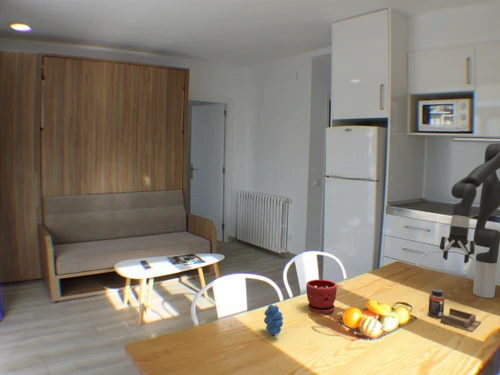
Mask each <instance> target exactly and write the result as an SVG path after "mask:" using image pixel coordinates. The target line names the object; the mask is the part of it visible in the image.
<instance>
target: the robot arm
mask: <svg viewBox="0 0 500 375" xmlns="http://www.w3.org/2000/svg"><path fill="white" fill-rule="evenodd" d="M499 169H500V143H490V144H488V145H487V146H486V148H485V152H484V163H482V164H479V165H478V166H476V167H475V168H474V169H473V170H472V171H470V172H469V174H468V175H467V176H465V177H464V178H463V177H462V179H460V180H459V181H457V182H456V183H454V184H453V186H452V187H451V192H450V193H451V195H452V197H454V198H455V199H459V200H460V199H461V201H460V202H456V203H455V204H453V208H452V216H451V219H450V227H449V235H448V237H446V236H442V237H441V239H440V243H439V249H440V250H442V251H443V253H442V258H443V260H446V261H448V255H449V251H450V249H452V248H453V249H461V250H462V251H463V253H464V256H463V257H464V258H463V263H464V264H468V262H469V261H470V256H471V255H475V263H474V264H475V265H474V275H473V276H474V277H473V290H472V293H473V295H475V296H477V297H479V298H485V299H493V298H495V293H496V283H497V282H496V280H497V270H498V269H497V268H498V258H499V251H500V231H499V230H497V229H493V228H487V227H486V225H487V222H488V220H489V218H490V217H491V216H492V215H493V214H494V213H495V212H496V211H497V209H499V207H500V179H499V177H498V174H497V170H499ZM481 185H482V186H481ZM480 186H481V192H480V198H479V207H478V208H479V209H478V213H477V214H478V215H477V220H476V224H475V228H474V232H473V240H468V236H469V226H470V216H471V208H472V205H473V204H474V202H475V199H476V197H477V188H479V187H480ZM447 241H448V244H447V245H446V242H447ZM467 245H469V249H468V248H467ZM475 246H478V247H482V248H488V251H485V252H479V253H477V254H475V251H476V249H475V248H476V247H475Z"/></svg>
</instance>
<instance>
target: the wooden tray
mask: <svg viewBox="0 0 500 375" xmlns="http://www.w3.org/2000/svg"><path fill="white" fill-rule="evenodd" d="M476 317H477V315H476V314H473V313H470V312H467V311H462V310H459V309H455V308H453V307H452V308H451V307H450V308H449V312H448V314H447V315H445V314H443V315H441V318H440V322H439V323H440V324H444V325H447V326H448V327H449V326H450V327H454V328H455V329H459V330H463V331H466V332H469V333H473V332H474V331H475V330H476V329H477V328H478V327H479V326H480V325H481V323H482V322H481V321H479V320H476Z"/></svg>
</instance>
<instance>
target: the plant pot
mask: <svg viewBox="0 0 500 375" xmlns="http://www.w3.org/2000/svg"><path fill="white" fill-rule="evenodd" d="M305 284H306V285H305V288H306V297H307V301H308V304H307V307H308V310H310V311H311V312H314V313H317V314H330V313H332V312H333V311H334V310H335V307H336V306H335V305H334V304H335V301H336V298H337V290H338V286H337V283H336V282H334V281H332V280H326V279H312V280H308V281H307V282H306V283H305Z"/></svg>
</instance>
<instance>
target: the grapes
mask: <svg viewBox="0 0 500 375" xmlns="http://www.w3.org/2000/svg"><path fill="white" fill-rule="evenodd" d="M264 316H265V318H264V319H263V323H265V324H266V327H265V330H266V331H267V332H269V334H270V335H271V336H276V335H278V334H280V333H281V331H282V327H283V324H284V322H283V320H284V317H283V313H282V312H281V311H280V310H279V307H278V306H277V305H273V304H269V305H268V306H267V309H266V310H265V311H264Z"/></svg>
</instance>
